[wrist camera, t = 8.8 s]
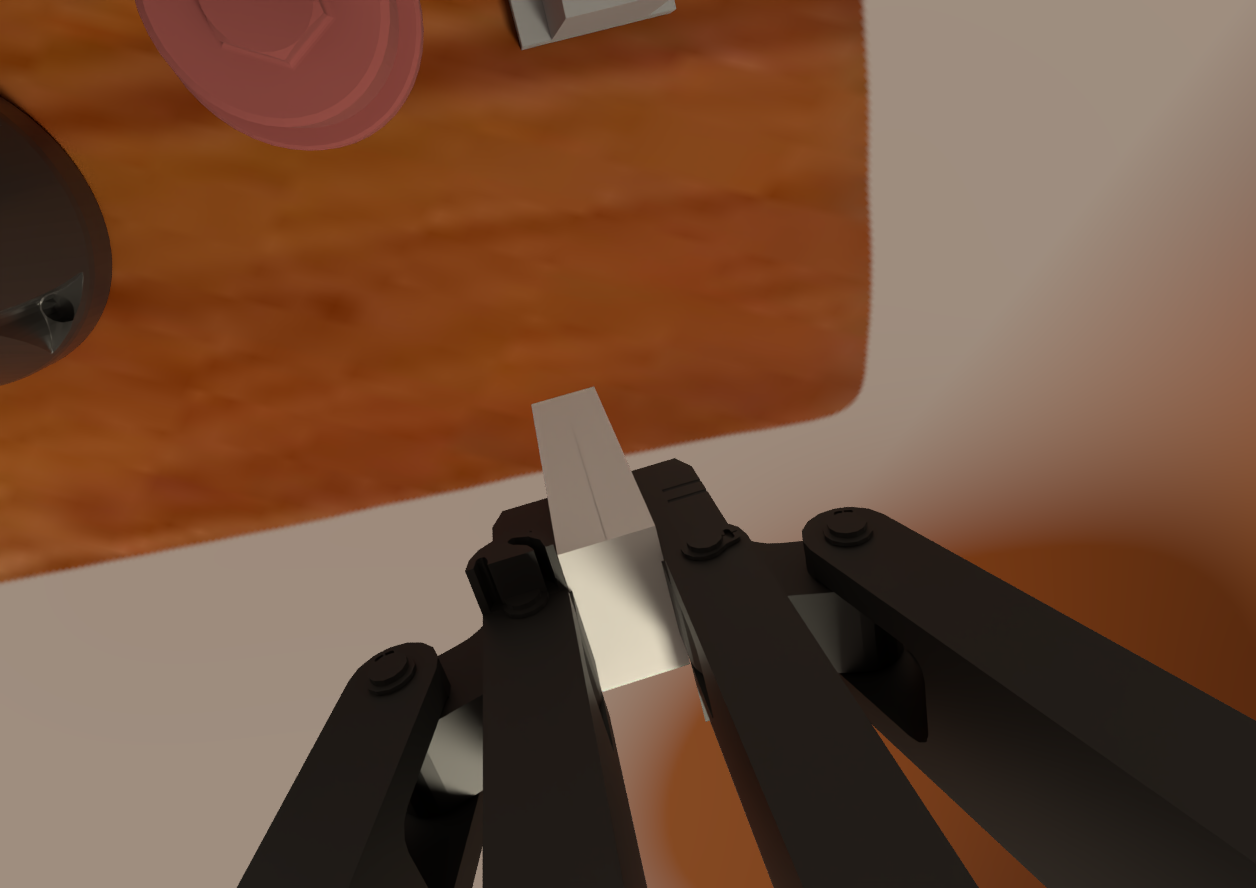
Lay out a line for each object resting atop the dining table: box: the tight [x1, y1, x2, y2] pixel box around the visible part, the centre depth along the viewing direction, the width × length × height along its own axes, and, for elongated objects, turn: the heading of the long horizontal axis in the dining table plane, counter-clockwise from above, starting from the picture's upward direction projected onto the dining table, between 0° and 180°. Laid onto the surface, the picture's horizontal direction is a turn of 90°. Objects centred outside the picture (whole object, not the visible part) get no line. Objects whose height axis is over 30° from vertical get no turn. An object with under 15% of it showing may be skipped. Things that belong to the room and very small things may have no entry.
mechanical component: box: [135, 0, 424, 150], centre depth 29 cm, size 12×10×10 cm
